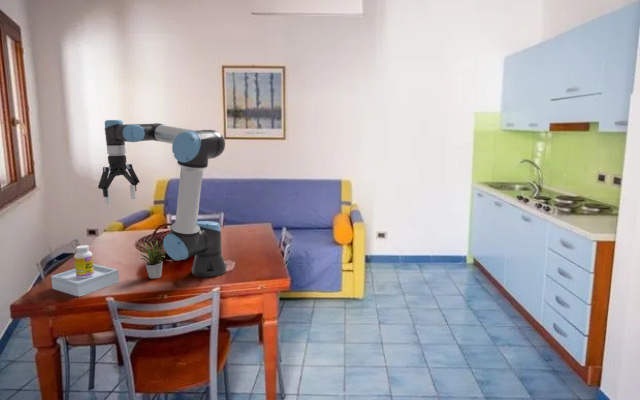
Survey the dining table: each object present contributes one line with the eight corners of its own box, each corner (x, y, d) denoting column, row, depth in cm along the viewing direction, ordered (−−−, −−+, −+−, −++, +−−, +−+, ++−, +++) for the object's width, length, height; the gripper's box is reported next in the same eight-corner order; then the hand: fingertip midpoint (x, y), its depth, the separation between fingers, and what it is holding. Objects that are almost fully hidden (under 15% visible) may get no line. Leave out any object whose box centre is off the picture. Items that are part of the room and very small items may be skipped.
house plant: (181, 271, 205) (178, 237, 202) (164, 283, 192) (161, 245, 189) (152, 269, 208) (150, 235, 205) (134, 280, 195) (131, 243, 192)
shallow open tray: (119, 282, 194) (118, 269, 193) (79, 296, 178) (77, 283, 177) (92, 275, 202) (91, 263, 201) (52, 288, 187) (50, 276, 186)
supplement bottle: (87, 279, 186) (83, 249, 183) (72, 278, 187) (69, 248, 185) (98, 274, 192) (94, 244, 190) (84, 273, 193) (80, 244, 191)
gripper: (133, 152, 216) (137, 196, 220) (85, 156, 195) (91, 205, 198) (144, 152, 213) (148, 197, 217) (97, 157, 191) (102, 206, 195)
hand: (121, 201), depth 208 cm, fingers open, 13 cm apart
